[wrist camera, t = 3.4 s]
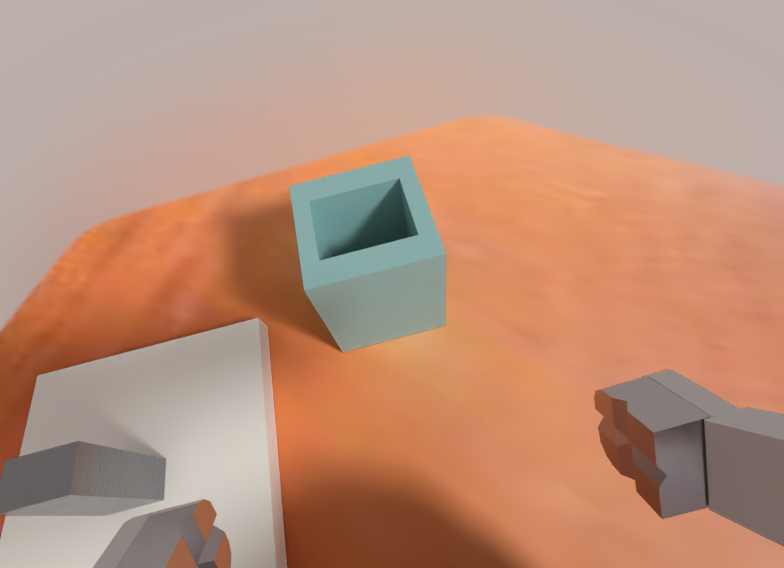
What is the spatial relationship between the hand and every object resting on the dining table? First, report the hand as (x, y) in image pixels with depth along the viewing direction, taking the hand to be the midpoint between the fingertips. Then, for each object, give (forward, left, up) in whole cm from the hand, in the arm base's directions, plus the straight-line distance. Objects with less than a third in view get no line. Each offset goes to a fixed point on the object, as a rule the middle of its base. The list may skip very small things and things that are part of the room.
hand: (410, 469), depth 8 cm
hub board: (0, +15, -14) cm, 21 cm away
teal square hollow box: (+12, +3, -14) cm, 19 cm away
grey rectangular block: (0, +15, -13) cm, 20 cm away
